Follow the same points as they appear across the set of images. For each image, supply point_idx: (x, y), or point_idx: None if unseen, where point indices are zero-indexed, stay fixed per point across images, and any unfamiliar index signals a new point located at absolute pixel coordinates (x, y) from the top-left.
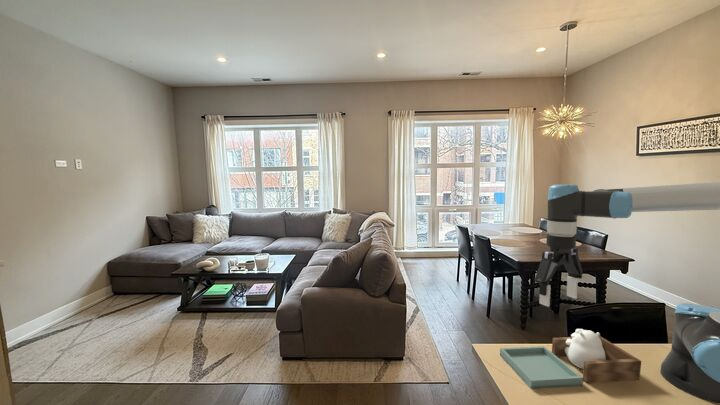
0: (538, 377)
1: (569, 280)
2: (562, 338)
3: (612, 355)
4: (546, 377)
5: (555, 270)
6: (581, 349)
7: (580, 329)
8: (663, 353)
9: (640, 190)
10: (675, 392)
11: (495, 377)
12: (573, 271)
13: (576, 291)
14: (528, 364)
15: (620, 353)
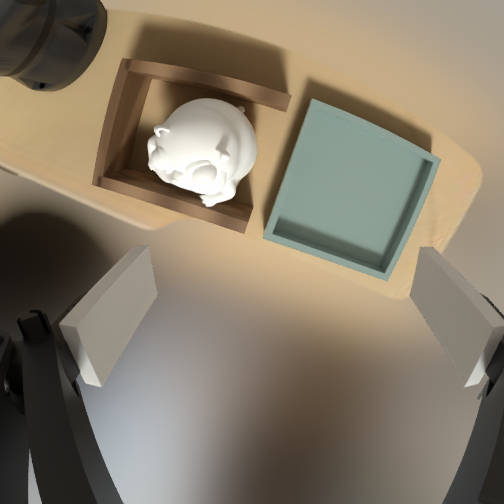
0: (392, 166)
1: (108, 353)
2: (216, 217)
3: (125, 129)
4: (375, 156)
5: (493, 460)
6: (245, 138)
7: (198, 172)
8: (12, 132)
9: None
10: (125, 26)
11: (457, 220)
12: (67, 400)
13: (121, 266)
14: (365, 211)
15: (121, 107)
